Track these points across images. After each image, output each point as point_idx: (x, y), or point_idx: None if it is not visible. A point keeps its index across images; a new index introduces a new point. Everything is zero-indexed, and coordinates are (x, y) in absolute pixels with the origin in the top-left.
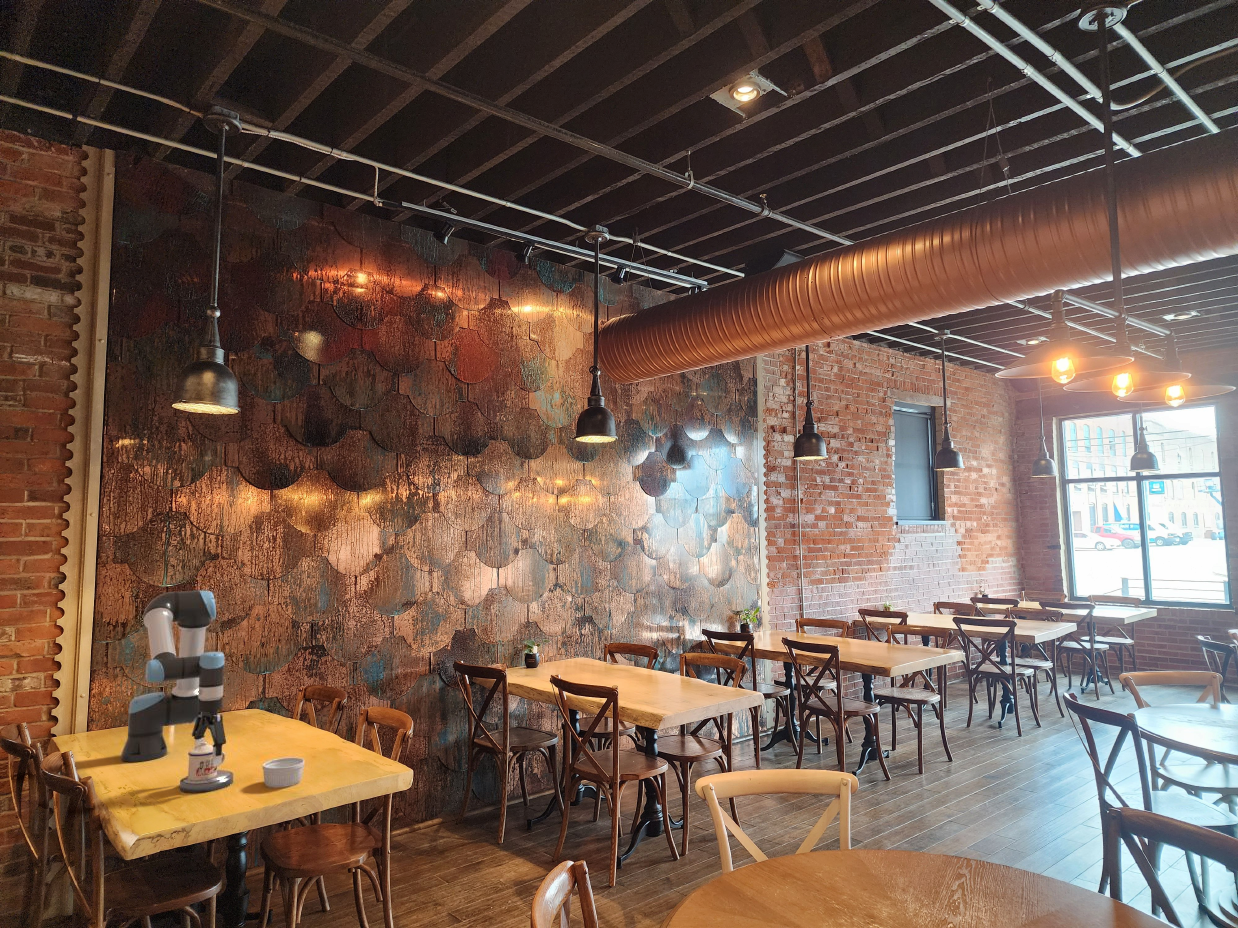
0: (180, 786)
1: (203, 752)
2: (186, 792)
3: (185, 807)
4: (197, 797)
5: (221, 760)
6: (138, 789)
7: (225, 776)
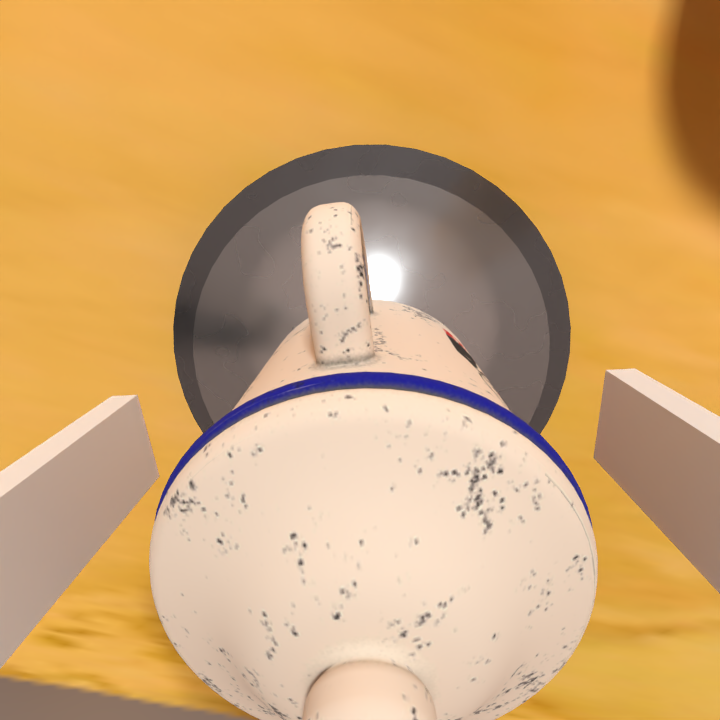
0: None
1: (559, 659)
2: None
3: None
4: (581, 470)
5: (669, 390)
6: (154, 604)
7: (513, 265)
